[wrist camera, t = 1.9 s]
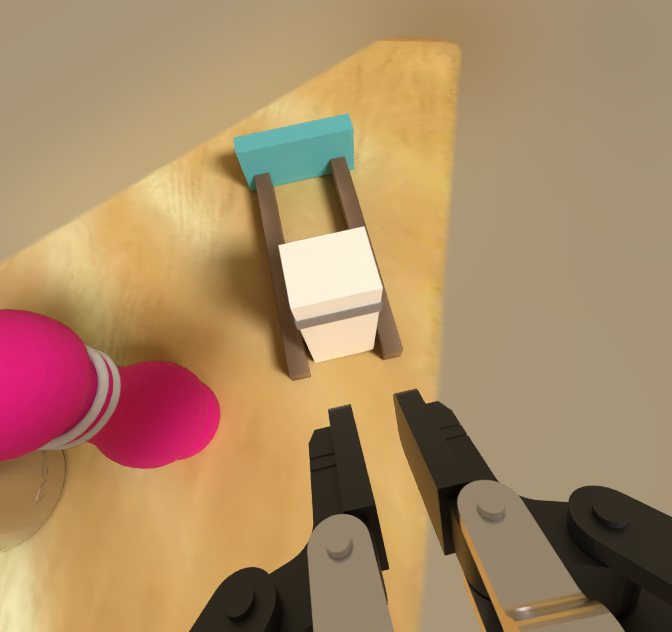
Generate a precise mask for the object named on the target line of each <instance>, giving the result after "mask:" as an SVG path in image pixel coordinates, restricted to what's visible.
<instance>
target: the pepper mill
mask: <svg viewBox="0 0 672 632" xmlns="http://www.w3.org/2000/svg"><path fill="white" fill-rule="evenodd" d="M219 420H220V408H219V403H218V400H217V398H216V396H215V394H214V393H213V391H212V390H211V389H210V388H209V387H207V386H206V385H204V384H203V383H201V382H200V380H199V379H198V378H197V377H196V376H195V375H194V374H193V373H192V372H191V371H189V370H188V369H186V368H184V367H182V366H180V365H177V364H174V363H170V362H165V361H145V362H140V363H136V364H133V365H130V366H127V367H119V366H116V365H115V363H114V361H113V360H112V359H111V358H110V357H109V356H108V355H107V354H105V353H104V352H102V351H100V350H98V349H94V348H91V347H89V346H88V345H85V344H84V343H83V342H82V340H81V339H80V338H79V337H78V336H77V335H76V334H75V333H74V332H73V331H72V330H71V329H70V328H69V327H67V326H65V325H64V324H62V323H61V322H59V321H56V320H54V319H51V318H49V317H46V316H44V315H40V314H36V313H33V312H29V311H22V310H10V309H4V310H0V461H5V460H11V459H16V458H18V457H21V456H23V455H26V454H28V453H30V452H32V451H34V450H45V449H48V450H62V449H68V448H71V447H75V446H77V445H80V444H82V443H84V442H85V441H86V442H90V443H92V444H94V445H96V447H97V448H98V449H99V450H100V451H101V452H102V453H103V454H104V455H105V456H106V457H108V458H109V459H111V460H113V461H115V462H117V463H119V464H121V465H123V466H128V467H132V468H141V469H148V468H157V467H162V466H164V465H167V464H169V463H172V462H174V461H176V460H181V459H186V458H189V457H191V456H193V455H195V454H197V453H199V452H200V451H201V450H203V449H204V448H205V447H206V446H207V445H208V444H209V442H210V441H211V440H212V438H213V437H214V435H215V433H216V431H217V428H218V425H219Z"/></svg>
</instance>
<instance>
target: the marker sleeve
mask: <svg viewBox="0 0 672 632" xmlns="http://www.w3.org/2000/svg"><path fill="white" fill-rule="evenodd" d="M279 251H280V256H281V261H282V267H283V272H284V277H285V283H286V288H287V293H288V298H289V304H290V309H291V311H292V313H293V317H294V322H295V325H296V327H297V329H298V330H300V331H301V333H302V335H303V337H304V339H305V342H306V344H307V346H308V348H309V350H310V352H311V355H312V357H313V359H314V361H315V363H317V362H321V361H325V360H330V359H334V358H338V357H343V356H347V355H351V354H356V353H360V352H364V351H369V350H373V348H374V341H375V335H376V329H377V322H378V316H379V311H382V305H383V302H382V299H381V297H382V290H383V287H382V284H381V280H380V277H379V274H378V270H377V267H376V264H375V260H374V257H373V253H372V250H371V247H370V243H369V240H368V237H367V233H366V230H365V227H359V228H355V229H350V230H346V231H341V232H336V233H332V234H327V235H323V236H318V237H314V238H309V239H305V240H300V241H296V242H291V243H286V244H282V245H279Z"/></svg>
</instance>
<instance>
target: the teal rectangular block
mask: <svg viewBox="0 0 672 632" xmlns="http://www.w3.org/2000/svg"><path fill="white" fill-rule="evenodd" d="M233 139H234V145H235V152H236V155H237V158H238V160H239V163H240V165H241V168H242V170H243V173H244V175H245V178H246V180H247V183H248V185H249V188H250V190H251V191H254V190H257V188H256V182H255V177H254V175H259V174H263V173H268V172H269V173H270V177H271V180H272V183H273V186H277V185H282V184H287V183H291V182H296V181H301V180H305V179H310V178H315V177H319V176H324V175H329V174H331V163H330V159H334V158H338V157H343V156H345V158H346V162H347V165H348V168H349V170H352V169H354V141H353V126H352V123H351V120H350V117H349V114H343V115H339V116H334V117H329V118H324V119H320V120H315V121H310V122H306V123H301V124H296V125H291V126H287V127H282V128H277V129H272V130H268V131H263V132H258V133H253V134H249V135H244V136H239V137H234V138H233Z"/></svg>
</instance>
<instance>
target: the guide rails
mask: <svg viewBox="0 0 672 632" xmlns="http://www.w3.org/2000/svg"><path fill="white" fill-rule="evenodd" d="M330 163H331V174H332V177H333V181H334V185H335V188H336V192H337V196H338V199H339V203H340V206H341V210H342V214H343V217H344V221H345V224H346V228H347V230H350V229H355V228H359V227H365V230H366V233H367V237H368V240H369V243H370V247H371V250H372V253H373V257H374V260H375V264H376V267H377V270H378V274H379V277H380V280H381V284H382V287H383V290H382V297H381V299H382V302H383V305H382V311H379V316H378V322H377V329H376V336H377V340H378V344H379V347H380V351H381V354H382V358H383V360H385V359H390V358H394V357H398V356H401V353H402V351H403V347H402V344H401V341H400V337H399V334H398V331H397V327H396V324H395V321H394V317H393V314H392V311H391V307H390V304H389V301H388V298H387V294H386V291H385V288H384V284H383V281H382V278H381V274H380V271H379V268H378V264H377V261H376V258H375V254H374V251H373V248H372V244H371V241H370V238H369V235H368V231H367V228H366V225H365V221H364V218H363V215H362V211H361V208H360V205H359V201H358V198H357V195H356V191H355V188H354V185H353V181H352V178H351V175H350V171H349V168H348V165H347V162H346V158H345V156H343V157H338V158H334V159H330ZM254 177H255V182H256V188H257V194H258V200H259V205H260V211H261V217H262V223H263V228H264V234H265V240H266V246H267V251H268V257H269V263H270V269H271V274H272V280H273V286H274V292H275V297H276V303H277V309H278V315H279V320H280V326H281V332H282V337H283V343H284V349H285V355H286V360H287V366H288V372H289V376H290V377H291V379H292V380H293V381H294V380H299V379H303V378H307V377H311V374H310V369H309V364H308V359H307V354H306V349H305V344H304V339H303V335H302V333H301V331H300V330H298V329H297V327H296V325H295V322H294V317H293V313H292V311H291V309H290V304H289V298H288V293H287V288H286V283H285V277H284V272H283V267H282V261H281V256H280V251H279V245H282V244H285V242H284V237H283V232H282V227H281V222H280V217H279V212H278V206H277V201H276V196H275V191H274V186H273V183H272V180H271V177H270V173H269V172H268V173H263V174H259V175H254Z"/></svg>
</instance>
